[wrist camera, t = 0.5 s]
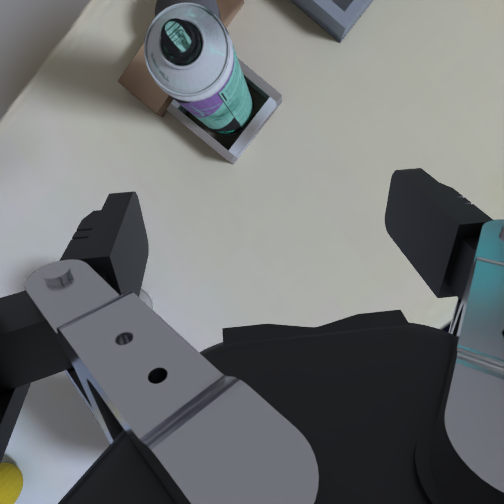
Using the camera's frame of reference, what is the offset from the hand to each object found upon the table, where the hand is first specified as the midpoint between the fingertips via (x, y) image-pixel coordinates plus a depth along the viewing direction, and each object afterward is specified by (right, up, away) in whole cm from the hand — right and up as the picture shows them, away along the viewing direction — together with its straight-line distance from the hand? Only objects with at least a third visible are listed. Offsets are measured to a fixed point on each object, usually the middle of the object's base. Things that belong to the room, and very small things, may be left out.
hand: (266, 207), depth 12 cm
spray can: (-3, +14, +28) cm, 32 cm away
